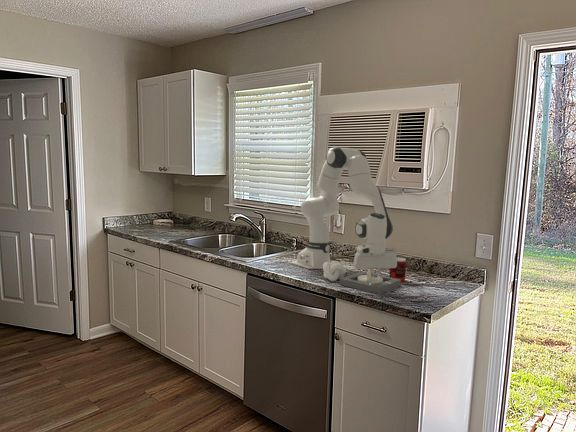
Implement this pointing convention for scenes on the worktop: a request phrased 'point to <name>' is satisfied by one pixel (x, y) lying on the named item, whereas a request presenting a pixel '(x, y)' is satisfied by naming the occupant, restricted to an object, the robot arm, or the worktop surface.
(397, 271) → the canned food
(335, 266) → the white decorative knot
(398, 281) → the panel
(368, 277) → the dial
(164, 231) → the worktop surface
